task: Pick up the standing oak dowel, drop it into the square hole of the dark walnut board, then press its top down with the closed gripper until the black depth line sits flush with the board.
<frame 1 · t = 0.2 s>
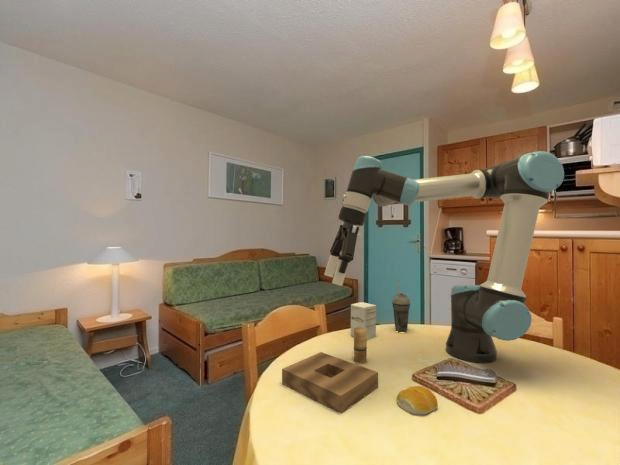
hand: (332, 280, 88), 27 cm above the table, tool tilted 20°, fingers open, 13 cm apart
board: (329, 385, 81), on the table
bread roll: (416, 406, 72), on the table
beverage cup: (401, 331, 126), on the table
dowel: (360, 360, 97), on the table
supplement box: (363, 336, 120), on the table
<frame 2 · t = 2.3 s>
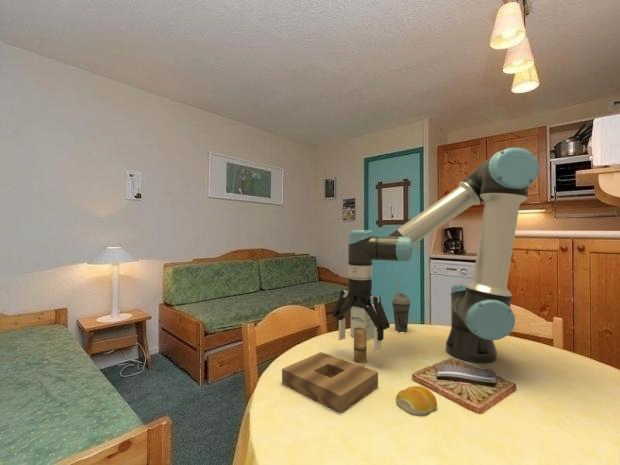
hand: (358, 344, 97), 5 cm above the table, tool pointing down, fingers open, 13 cm apart
nothing on the table moved.
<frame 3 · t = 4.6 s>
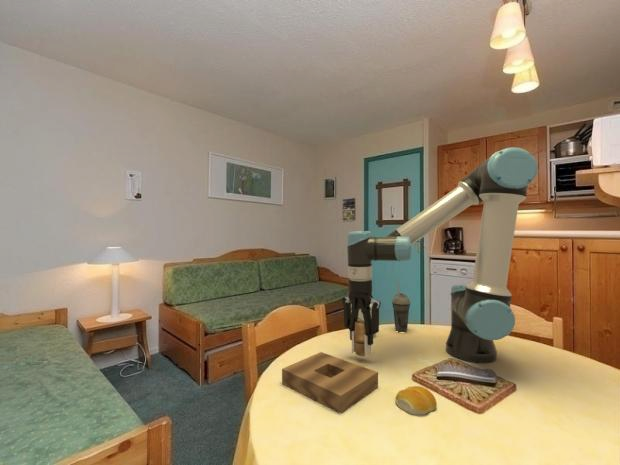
hand: (361, 352, 97), 3 cm above the table, tool pointing down, fingers closed on dowel, 4 cm apart
dowel: (361, 353, 97), point 2 cm above the table, touching gripper
everything else where it was.
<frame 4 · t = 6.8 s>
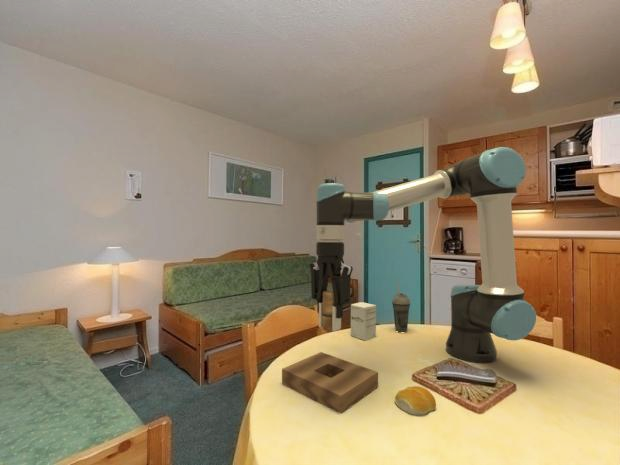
hand: (329, 327, 82), 15 cm above the table, tool pointing down, fingers closed on dowel, 4 cm apart
dowel: (330, 328, 82), point 15 cm above the table, touching gripper
everything else where it was.
when the fingers open (6 cm above the table, at t = 9.2 s): dowel drops 5 cm, resting in board.
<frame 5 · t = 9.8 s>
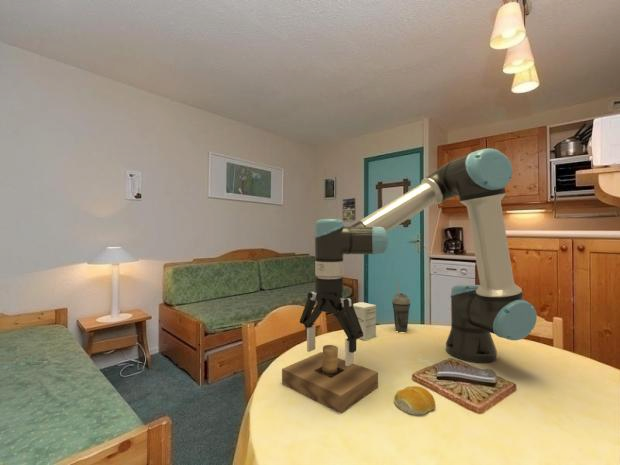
hand: (329, 357, 81), 8 cm above the table, tool pointing down, fingers open, 13 cm apart
dowel: (329, 384, 81), resting in board
everything else where it was.
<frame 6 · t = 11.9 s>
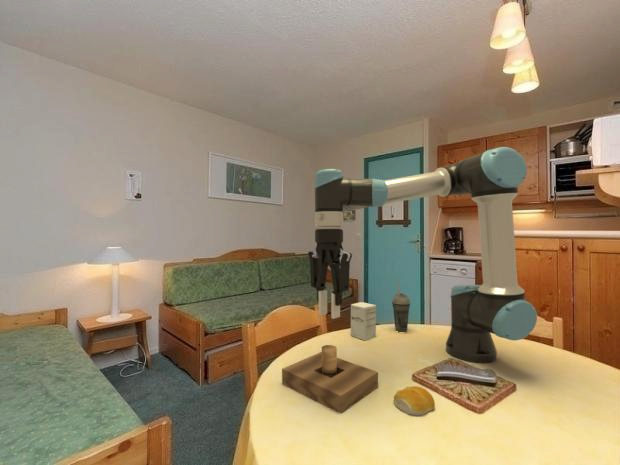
hand: (329, 315, 81), 19 cm above the table, tool pointing down, fingers open, 4 cm apart
nothing on the table moved.
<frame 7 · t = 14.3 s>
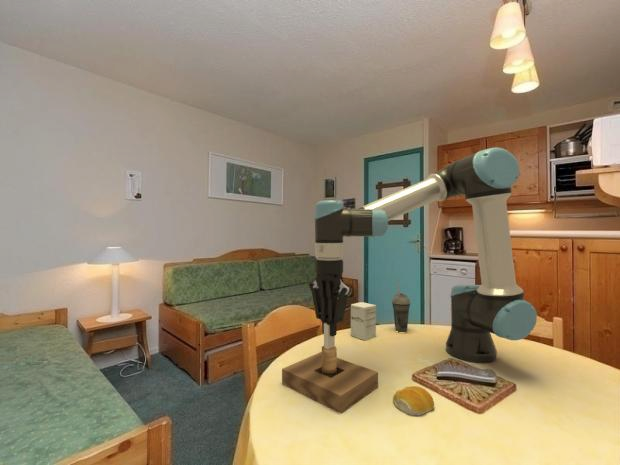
hand: (329, 347, 81), 10 cm above the table, tool pointing down, fingers closed
dowel: (329, 385, 81), resting in board, touching gripper
everything else where it was.
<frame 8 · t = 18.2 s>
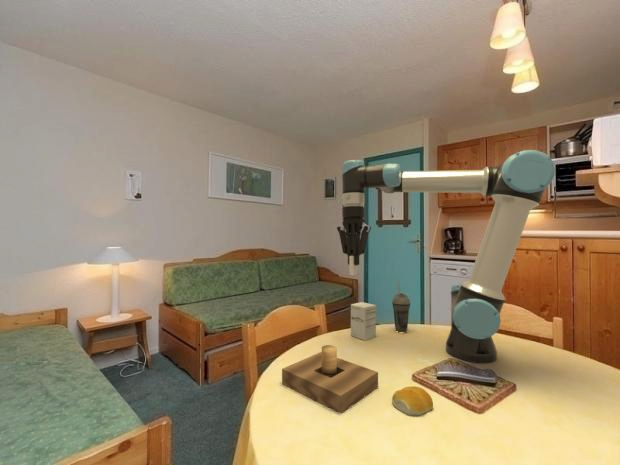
hand: (353, 274, 105), 26 cm above the table, tool pointing down, fingers closed
dowel: (329, 385, 81), resting in board
at the end: dowel 0.1 cm off-centre on the board, point 0.0 cm above the board's base; dowel tilted 0°; the gripper is holding nothing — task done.
